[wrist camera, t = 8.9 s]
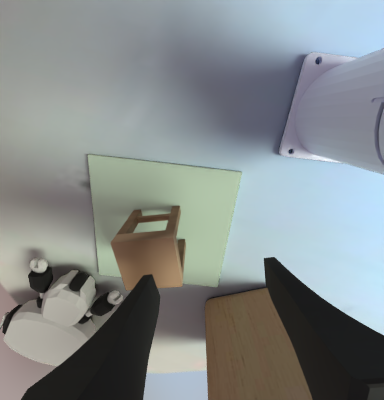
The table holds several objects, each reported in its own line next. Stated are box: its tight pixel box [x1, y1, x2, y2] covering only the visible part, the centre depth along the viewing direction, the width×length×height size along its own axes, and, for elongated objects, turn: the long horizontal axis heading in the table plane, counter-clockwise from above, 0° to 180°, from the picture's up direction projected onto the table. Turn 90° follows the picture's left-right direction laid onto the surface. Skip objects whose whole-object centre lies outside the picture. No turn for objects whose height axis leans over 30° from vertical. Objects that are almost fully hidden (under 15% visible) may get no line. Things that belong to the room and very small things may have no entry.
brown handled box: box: [110, 206, 186, 290], centre depth 19 cm, size 5×5×6 cm
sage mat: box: [88, 154, 242, 287], centre depth 22 cm, size 15×15×1 cm
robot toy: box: [0, 258, 123, 366], centre depth 25 cm, size 12×4×15 cm
